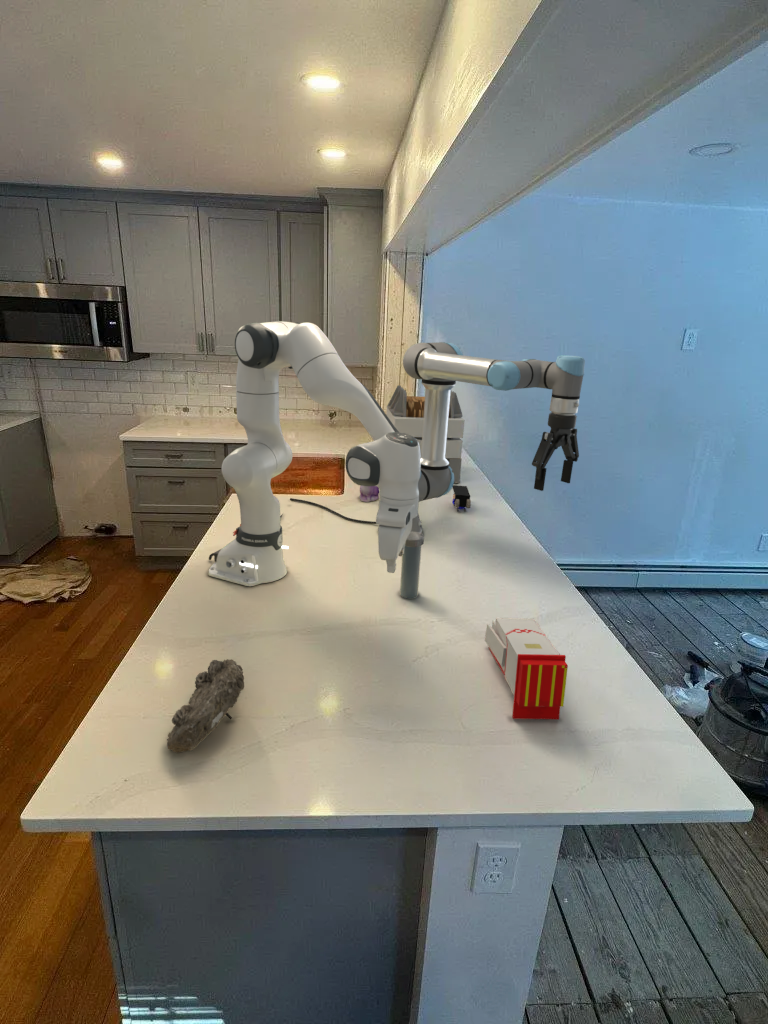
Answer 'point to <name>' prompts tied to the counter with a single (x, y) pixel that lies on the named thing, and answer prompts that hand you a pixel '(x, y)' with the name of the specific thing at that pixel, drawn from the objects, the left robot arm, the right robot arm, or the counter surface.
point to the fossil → (206, 705)
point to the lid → (415, 539)
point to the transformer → (409, 420)
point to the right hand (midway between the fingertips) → (552, 485)
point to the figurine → (369, 493)
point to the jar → (410, 572)
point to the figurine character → (461, 497)
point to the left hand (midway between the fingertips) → (395, 562)
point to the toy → (529, 667)
